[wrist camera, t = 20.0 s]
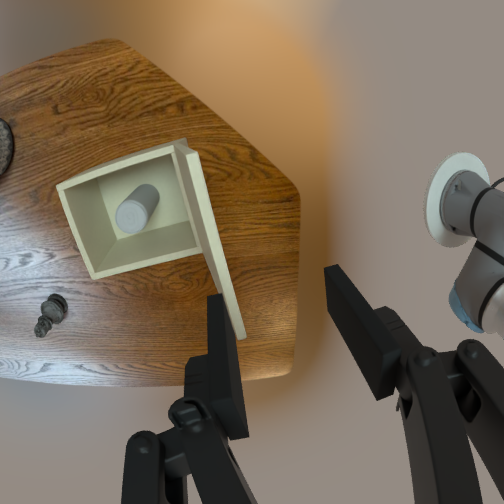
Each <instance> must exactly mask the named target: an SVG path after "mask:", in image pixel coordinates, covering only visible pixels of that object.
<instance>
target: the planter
mask: <svg viewBox="0 0 504 504" xmlns="http://www.w3.org/2000/svg"><path fill="white" fill-rule="evenodd" d="M12 149H13V141H12V135H11V131H10V129H9V127H8V125H7V124H6V122H5V121H4V120H2V119H1V118H0V175H1V174H2V173H3V172H4V171H5V170H6V168H7V167H8V165H9V162H10V159H11V156H12Z"/></svg>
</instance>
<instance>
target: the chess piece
mask: <svg viewBox="0 0 504 504" xmlns="http://www.w3.org/2000/svg"><path fill="white" fill-rule="evenodd" d="M67 309H68V306H67V302H66V301H65V299H64V298H63V297H62V296H60V295H58V294H51V295H50V296H49V297H48V300H47V301H45V302H43V303H42V304H41V313H42V316H40V317H39V318H38V323H37V324H36V326H35V328H34V332H35V334H36V337H41V338H42V337H44V336H45V335H46V334H47V332H48V330H51V329H52V324H53V323H54V324H59V323H61V322H62V320H63V313H65V312H66V311H67Z"/></svg>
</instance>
